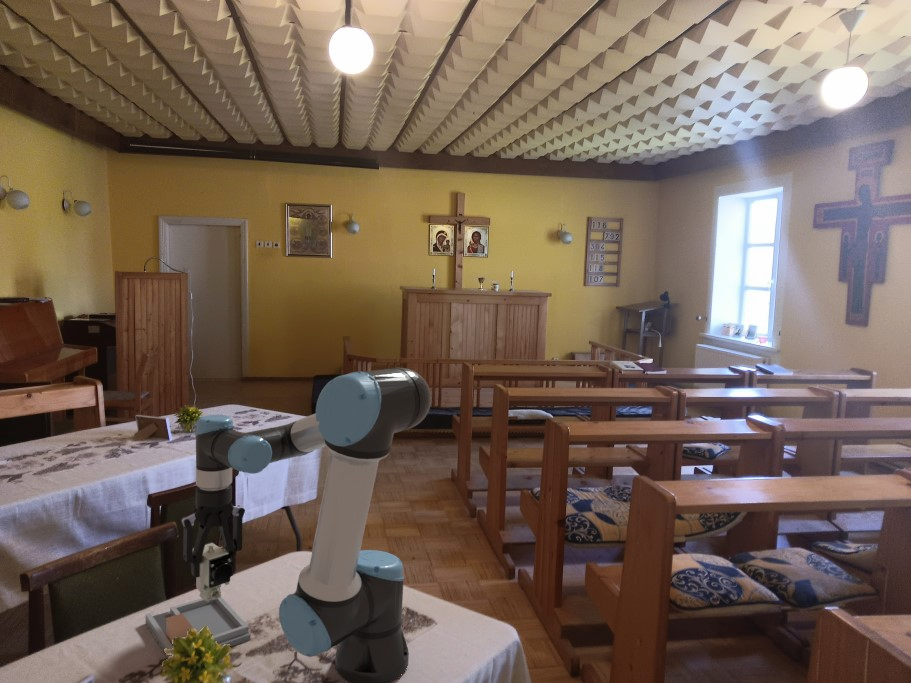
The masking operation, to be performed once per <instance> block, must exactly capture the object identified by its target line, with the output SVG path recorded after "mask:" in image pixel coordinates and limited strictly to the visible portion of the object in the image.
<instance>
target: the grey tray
mask: <svg viewBox="0 0 911 683" xmlns="http://www.w3.org/2000/svg"><path fill="white" fill-rule="evenodd" d="M178 614H183V615H184V616H185V618H186V619H187V620H188V622H189V623H190V624H191V628H195V629H196V630H197V632H199V631H200V630H201V629H202V628H203V627H204V626H205V625H207V626H208V628H209V630H210V632H211V633H212V634H213V637H214V639H215V640H216V641H217V643H218V644H219V645H224V644H230V645H231V647H233V646H237V645H239V644H242V643H245V642H248V641H251V633H249V632H250V631H249V630H250V629H249V628H250V627H249V625H248V624H247V623H246V622H245V621H244V620H243V618H241V616H240V615H239V614H238V613H237V612H236V611H235V610H234V609H233V608H232V607H231V605H230V604H228V603H227V601H226V600H225V599H224V598H223V597H222V596H221V597H220V598H217V599H215V600H210V602H206V601H205V600H204V599H202V598H201V597H200V598H199V599H194V600H192V601H188V602H184V603H181V604H178V605H174V606H171V607H170V608H169V611H165V612H162V613H160V614H159V613H158V614H155V615H153V614H152V613H151V612H148V613H146V614H145V625H146V626H148V627H147V628H148V629H149V631H150V633H151V634H152V635H153V637H154V639H155V640H156V642H157V644H158V645H159V647H160V648H161V650H162V651H163V649H165V648H167V649H172V648H173V646H172V644H171V643H170V641H169V640H168V638H167V637H166V618H168V617H172V616H175V615H178ZM169 656H172V655H166V654H165V657H166V658H168V657H169Z"/></svg>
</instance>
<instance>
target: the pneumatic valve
mask: <svg viewBox="0 0 911 683" xmlns="http://www.w3.org/2000/svg"><path fill="white" fill-rule="evenodd" d="M193 550H194V546H193ZM226 551H227V550H226V549H225V547H224V546H218V545H216V544H215V543H214V542H212V541H210V542H207V543H205V547H204V551H203V555H202V558H201V563H203V583H204V592H199V597H200V599H201V598H202V599H204V600H205V601H206V602H210V600H215V599H217V598H220V597H222V594H221V593H222V592H221V587H222V585H223V584H224V583H227V582H229V583H230V582H231V577H232V576H234V561H233V562H231V555H230V554H229V553H227V552H226ZM192 554H193V553H192ZM190 566H191V567H190V574H191V575H192V576H193V574H192V563H190ZM224 585H225V584H224Z"/></svg>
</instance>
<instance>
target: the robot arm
mask: <svg viewBox="0 0 911 683" xmlns="http://www.w3.org/2000/svg"><path fill="white" fill-rule="evenodd" d="M431 402H432V394H431V390H430V387H429V384H428V383H427V381H426V380H425V379H424V377H423V376H421V375H420V374H419V373H418V372H416V371H415V370H413V369H409V368H405V367H391V368H384V369H378V370H376V369H375V370H370V371H369V370H368V371H352V372H349V373H347V374H343V375H339V376H336V377H334V378H333V379H331V380H330V381H328V382H327V383H326V385H325V386H323V388H322V389H321V392H320V393H319V395H318V398H317V401H316V405H315V406H316V407H315V413H313V414H310V415H307V416H305V417H303V418H300V419H298V420H295V421H293V422H290V423H287V424H283V425H278V426H274V427H269V428H262V429H257V430H252V431H245V432H242V431H239V430H235V429H234V422H233V420H234V419H233V418H232V417H231V416H229V415H226V414H209V415H203V416H201V417H199V418H198V419H197V420H196V432H195V485H196V487H195V508H194V510H193V512H192V514H190V515H188V516H182V517H181V518H180V522H181V524H182V526H183V528H182V529H183V530H182V531H183V533H182V535H183V537H182V538H183V539H182V540H183V541H182V545H183V546H182V558H183V560H184V561H185V562H186V563H187V564H189V565H190V564H191V563H192V574H193V575H192V574H191V575H192V576H193V578H195V579H196V582H195V583H196V584H195V587H196V589H197V590H198V591H199V593H201V592H204V583H203V563H201V558H202V555H203V551H204V547H205V544H206V542H207V540H208V537H209V536H208V535H209V534H210V531H211V529H212V528H215V527H218V528H219V532H220V536H221V539H222V540H221V541H222V542H223V548H224V549H226V550H227V551H226V552H227V553H229V554H230V555H231V562H233V563H234V560H235V558H234V557H235V556H236V553H237V552H239V551H241V550H243V518H244V515H245V513H246V510H245V508H244V507H242V506H241V505H236V506H235V505H234V504H233V503H232V502H233V501H232V500H233V486H232V483H233V469H234V470H236V471H238V472H242V473H248V474H259V473H261V472H262V471H263V470H264V469H265V468H267V467H268V466H269V464H273V463H276V462H278V461H282V460H288V459H292V458H296V457H302V456H306V455H308V454H310V453H313V452H314V451H316V450H319V449H322V448H324V447H326V448H327V449H328V450H329V452H330V456H329V462H328V467H327V472H326V477H325V481H324V482H325V483H324V488H323V493H322V499H321V503H320V509H319V513H318V520H317V524H316V529H315V535H314V540H313V544H312V550H311V556H310V560H309V564H308V565H306V566H305V567H303V568H302V570H301V571H300V573H299V575H298V579H297V580H298V581H297V583H296V584H297V585H296V591H295V592H294V593H289V594H288V595H286V597H284V598H283V599H282V600H281V602H280V605H279V608H278V609H279V610H278V616H279V617H278V618H279V623H280V626H281V630H282V632H283V634H284V636H285V638H286V640H287V641H288V643H289V644H290V646H291V647H292V648H293V649H294V650H295V651H296V652H298V653H299V654H300V655H302V656H304V657H309V658H311V657H316V656H318V655H321V654H323V653H325V652H328V651H330V650H331V649H332V648H333V647H335V646H337V645H338V646H337V649H336V652H335V660H334V661H335V664H334V667H335V670H336V673H337V674H338V676H340V677H341V678H342V679H343V680H345V681H347V682H349V683H391V682H393V681H395V680H397V679H399V678H400V677H401V676H402V675H404V673H405V672H406V671H407V669H408V667H409V661H410V660H409V658H410V657H409V655H410V654H409V647H408V645H407V642H406V638H405V634H404V631H403V628H402V620H403V619H402V617H403V596H404V581H405V577H404V564H403V562H402V560H401V559H400V558H399V557H398V556H396V555H394V554H392V553H391V552H390V553H389V552H387V551H382V550H375V549H367V550H366V549H364V550H362V544H363V539H364V535H365V534H364V533H365V529H366V525H367V520H368V516H369V515H368V514H369V510H370V506H371V501H372V496H373V491H374V485H375V483H376V477H377V473H378V469H379V464H380V461H381V460H383V459H385V458H387V457H388V456H389V455H390V453H391V447H392V444H393V439H394V434H395V433H399V432H403V431H406V430H410V429H412V428H414V427H416V426H417V425H419V424H420V423H421V422H422V421H423V420H425V418H426V416H427V415H428V413H429V411H430V408H431V404H432V403H431ZM231 514H232V515H233V516H232V538H231V533H230V531H229V524H228V519H229V517H230V516H231ZM195 520H197V522H199V524H198V531H197V535H196V539H195V544H194V530H193V529H194V528H193V526H194V525H195ZM193 544H194V546H193ZM193 547H194V550H193ZM192 553H193V554H192ZM224 585H225V586H228V585H230V582H227V583H224ZM407 666H408V667H407ZM406 668H407V669H406ZM405 670H406V671H405ZM404 671H405V672H404ZM403 672H404V673H403ZM401 674H402V675H401ZM398 677H399V678H398Z"/></svg>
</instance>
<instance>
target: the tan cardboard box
mask: <svg viewBox="0 0 911 683" xmlns="http://www.w3.org/2000/svg"><path fill="white" fill-rule="evenodd" d="M190 628H191V624H190V623H189V622H188V620H187V619H186V618H185V616H184V615H183V614H178V615H175V616H172V617H168V618H166V637H167V638H168V640H169V641H170V643H171V644H172V639H173V638H175V637H186V636H187V631H188V629H190ZM172 646H173V644H172Z"/></svg>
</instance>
